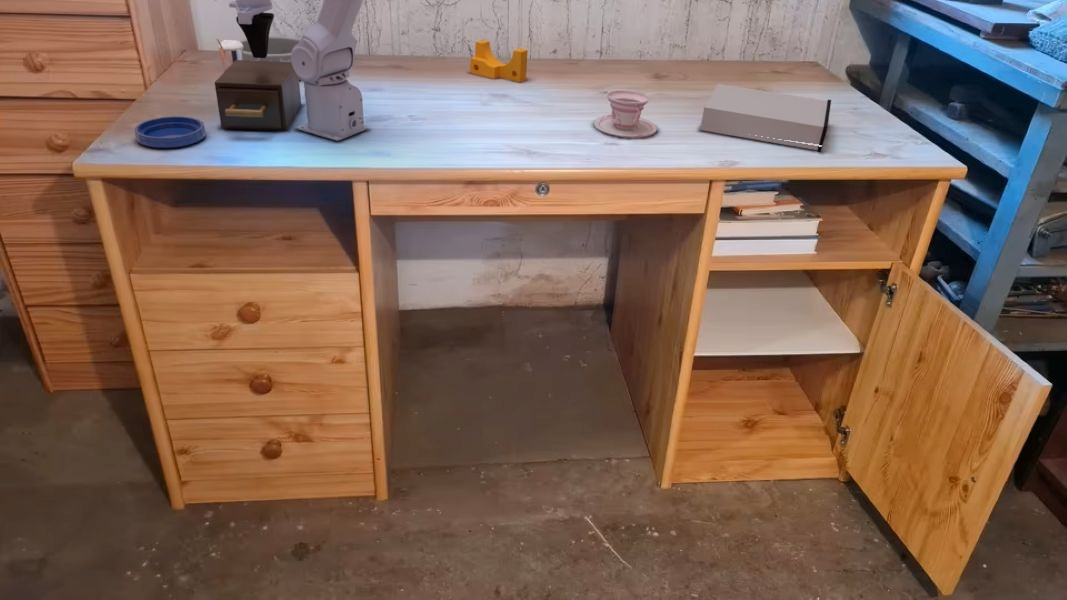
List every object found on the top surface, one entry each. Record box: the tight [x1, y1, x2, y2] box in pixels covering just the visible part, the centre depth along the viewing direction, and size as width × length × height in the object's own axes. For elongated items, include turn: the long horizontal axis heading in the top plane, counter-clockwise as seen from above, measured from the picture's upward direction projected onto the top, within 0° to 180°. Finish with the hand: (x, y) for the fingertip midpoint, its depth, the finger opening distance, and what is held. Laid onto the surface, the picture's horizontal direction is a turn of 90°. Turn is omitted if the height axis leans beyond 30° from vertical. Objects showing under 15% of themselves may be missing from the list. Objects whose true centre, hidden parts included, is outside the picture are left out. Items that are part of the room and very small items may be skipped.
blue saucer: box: [134, 115, 207, 149], centre depth 130 cm, size 11×11×2 cm
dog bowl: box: [239, 35, 301, 81], centre depth 166 cm, size 17×18×5 cm
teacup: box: [593, 88, 658, 138], centre depth 147 cm, size 12×12×6 cm
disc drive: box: [699, 83, 832, 153], centre depth 152 cm, size 18×22×5 cm
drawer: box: [217, 87, 283, 128], centre depth 137 cm, size 17×10×6 cm, turn 4°
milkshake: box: [216, 38, 244, 72], centre depth 153 cm, size 4×5×10 cm
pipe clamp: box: [469, 39, 529, 83], centre depth 171 cm, size 12×4×6 cm, turn 58°
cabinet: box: [214, 60, 302, 131], centre depth 140 cm, size 14×11×8 cm
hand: (260, 57), depth 140 cm, fingers closed
